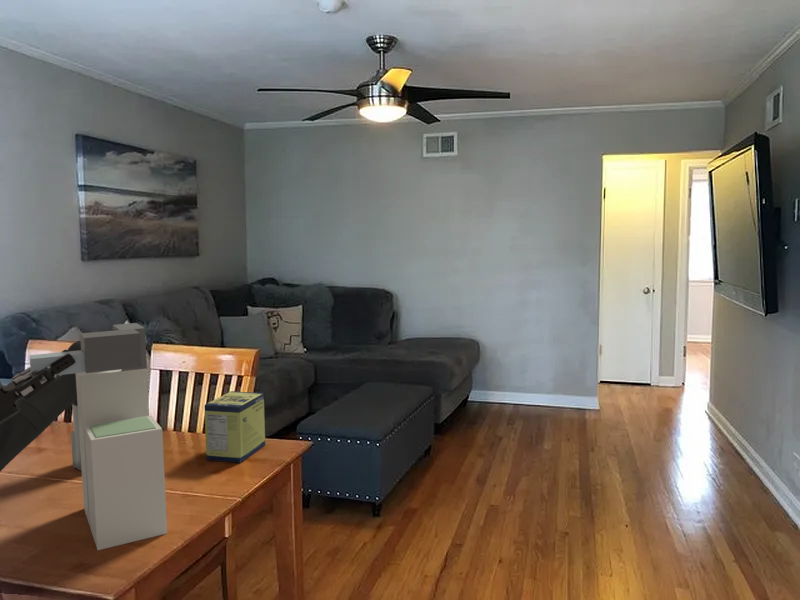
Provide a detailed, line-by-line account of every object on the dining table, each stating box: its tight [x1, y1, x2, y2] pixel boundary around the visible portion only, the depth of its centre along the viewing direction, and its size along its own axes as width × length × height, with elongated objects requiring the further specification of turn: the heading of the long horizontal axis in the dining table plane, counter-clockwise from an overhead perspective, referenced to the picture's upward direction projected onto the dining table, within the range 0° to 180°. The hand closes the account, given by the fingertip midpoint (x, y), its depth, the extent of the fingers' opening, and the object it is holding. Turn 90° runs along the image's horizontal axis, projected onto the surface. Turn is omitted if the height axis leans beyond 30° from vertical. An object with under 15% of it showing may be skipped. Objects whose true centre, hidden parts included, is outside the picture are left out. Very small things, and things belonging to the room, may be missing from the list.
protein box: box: [203, 390, 266, 464], centre depth 179 cm, size 10×16×16 cm
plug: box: [28, 329, 142, 377], centre depth 126 cm, size 19×7×7 cm, turn 122°
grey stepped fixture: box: [76, 322, 168, 551], centre depth 136 cm, size 13×22×41 cm, turn 32°
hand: (70, 355), depth 124 cm, fingers closed on plug, 4 cm apart
